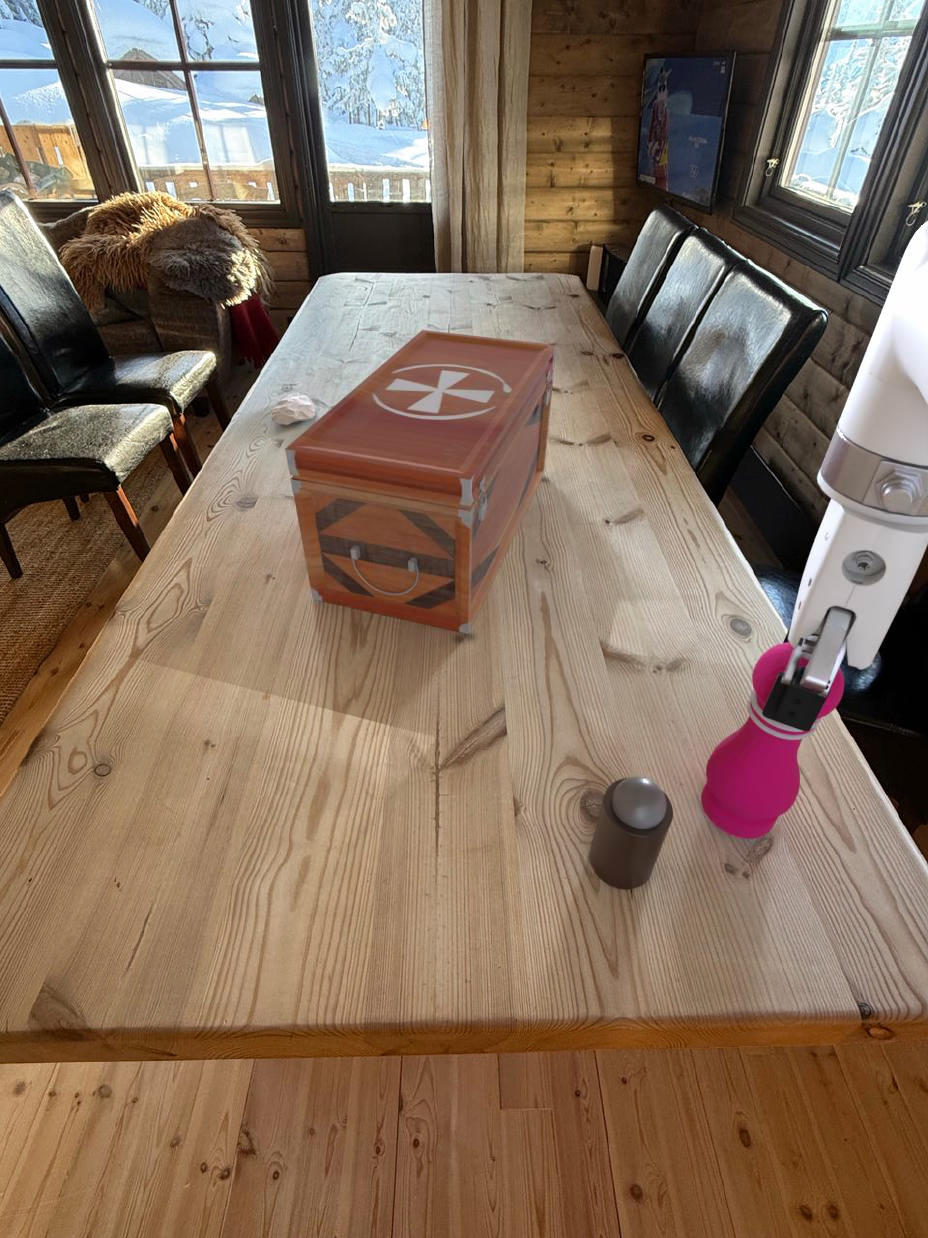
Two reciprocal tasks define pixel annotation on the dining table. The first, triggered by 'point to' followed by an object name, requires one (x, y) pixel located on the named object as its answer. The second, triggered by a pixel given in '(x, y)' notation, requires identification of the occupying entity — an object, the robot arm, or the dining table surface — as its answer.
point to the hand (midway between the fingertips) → (793, 689)
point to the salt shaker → (630, 832)
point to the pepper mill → (760, 757)
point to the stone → (293, 409)
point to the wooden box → (424, 477)
